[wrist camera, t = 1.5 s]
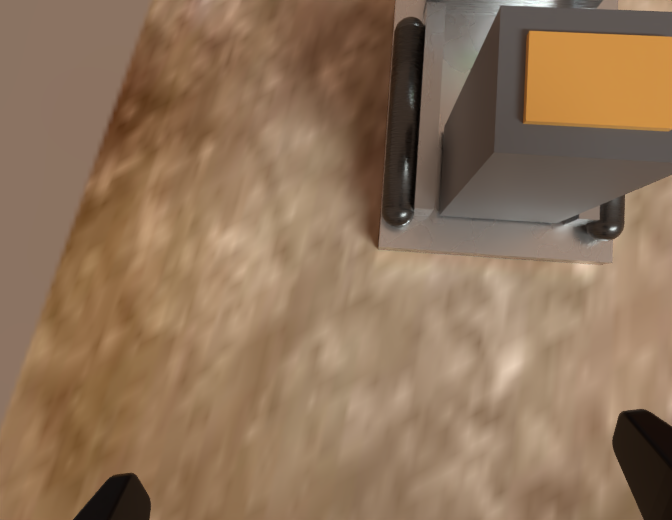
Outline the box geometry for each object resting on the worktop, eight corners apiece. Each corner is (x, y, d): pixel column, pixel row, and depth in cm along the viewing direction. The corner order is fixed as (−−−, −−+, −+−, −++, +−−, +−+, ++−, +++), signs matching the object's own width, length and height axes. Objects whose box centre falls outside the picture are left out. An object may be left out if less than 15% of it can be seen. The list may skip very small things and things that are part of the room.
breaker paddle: (556, 223, 20) (702, 161, 12) (438, 215, 21) (495, 149, 12) (559, 132, 21) (703, 8, 12) (444, 126, 21) (502, 0, 12)
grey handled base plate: (600, 264, 21) (717, 244, 14) (378, 249, 22) (386, 222, 15) (606, 13, 22) (717, -119, 15) (395, 4, 23) (409, -127, 16)
